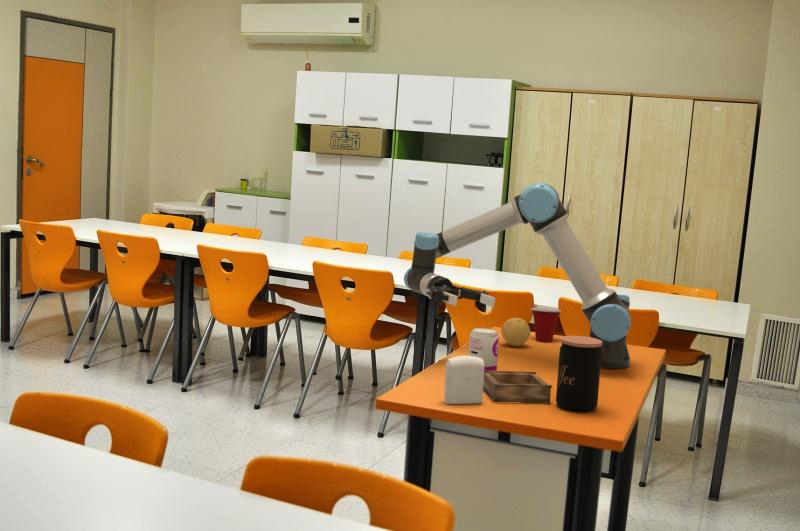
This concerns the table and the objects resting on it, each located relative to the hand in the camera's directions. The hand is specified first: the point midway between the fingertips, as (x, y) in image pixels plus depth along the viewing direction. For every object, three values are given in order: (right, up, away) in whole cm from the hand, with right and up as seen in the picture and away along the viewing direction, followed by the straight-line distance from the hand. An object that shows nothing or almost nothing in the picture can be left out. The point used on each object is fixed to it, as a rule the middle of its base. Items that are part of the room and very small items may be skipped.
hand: (475, 301), depth 252 cm
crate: (+9, -25, -18) cm, 32 cm away
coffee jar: (+24, -27, -27) cm, 45 cm away
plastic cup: (+30, -17, +62) cm, 71 cm away
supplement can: (+1, -23, -5) cm, 24 cm away
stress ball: (+18, -18, +49) cm, 55 cm away
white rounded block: (-6, -25, -28) cm, 38 cm away
